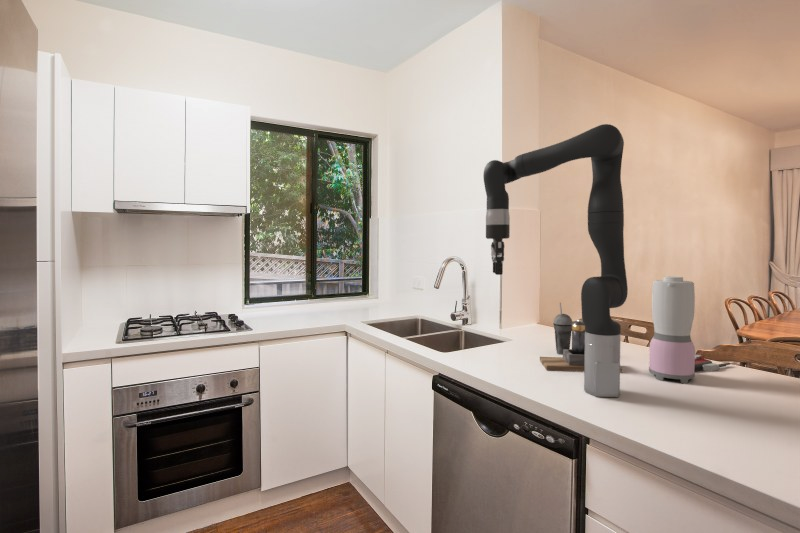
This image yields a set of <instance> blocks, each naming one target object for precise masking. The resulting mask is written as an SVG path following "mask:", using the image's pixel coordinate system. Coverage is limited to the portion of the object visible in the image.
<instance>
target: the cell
mask: <svg viewBox="0 0 800 533" xmlns="http://www.w3.org/2000/svg"><path fill="white" fill-rule="evenodd" d="M571 349H572V354H581V355H585V326H584V323H583V320H582V319H576V320H574V321H573V320H572V331H571Z"/></svg>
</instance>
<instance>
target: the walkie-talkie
mask: <svg viewBox="0 0 800 533" xmlns="http://www.w3.org/2000/svg"><path fill="white" fill-rule="evenodd" d="M730 365H731V362H725V363H719V364H718V363H714V362H713V361H712V360H710V359H706V358H705V356H704V355H701V354H696V353H695V368H694V373H695V372H696V373H697V372H700V371H702V372H713V371H714V372H716V371H719V370H720V368H723V367H727V366H730Z"/></svg>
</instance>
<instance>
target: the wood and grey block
mask: <svg viewBox="0 0 800 533" xmlns="http://www.w3.org/2000/svg"><path fill="white" fill-rule="evenodd" d="M584 356H585V355H581V354H572V348H570V349H563V355H562V357H560V356H559V357H557V356H556V357H555V356H539V362H540V363H541V364H542V366H543V367H544V368H545V370H546V371H551V372H552V371H554V372H555V371H557V372H560V371H561V372H583V371H584ZM620 374H623V368H622V367H621V366H620Z"/></svg>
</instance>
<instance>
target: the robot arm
mask: <svg viewBox="0 0 800 533" xmlns="http://www.w3.org/2000/svg"><path fill="white" fill-rule="evenodd" d="M624 141H625V140H624V138H623V135H622V133H621V132H620V130H619V129H618V127H616V126H615V125H612V124H608V123H605V124H599V125H597V126H595V127H592V128H591V129H588V130H586V131H584V132H582V133H580V134H578V135H575V136H572V137H571V138H568V139H566V140H563V141H561V142H558V143H555V144H552V145H549V146H546V147H542V148H539V149H535V150H532V151H529V152H525V153H522V154H519V155H517V156H515V158H514V159H512V160H509V161H505V162H502V161H500V160H498V159H494V160H490V161H489V162H487V163H486V164H485V167H484V169H483V183H484V184H483V185H484V190H485V193H486V213H485V214H486V215H485V239H487V240H492V242H491V245H490V250H491V253H490V255H491V262H492V273H493V274H495V275H496V276H500V275H501V276H502V275H503V272H504V271H503V264H504V261H505V242H504V241H503V239H510V235H511V234H510V230H511V229H510V226H511V225H510V220H511V219H510V209H509V208H510V201H509V200H510V198H509V196H510V195H509V193H508V191H507V190H506V184H509V183H513V182H515V181H517V180H519V179H522V178H526V177H530V176H533V175H537V174H540V173H544V172H547V171H550V170H552V169H555V168H556V167H559V166H560V165H563V164H565V163H568V162H571V161H576V160H579V159H580V160H581V159H588V158H590V160H591V168H592V169H591V170H592V171H591V172H592V181H591V182H592V183H591V188H590V193H589V196H588V197H589V198H588V204H587V231H588V232H587V233H588V235H589V237H590V239H591V241H592V244H593V245H594V247H595V249H596V251H597V254H598V256H599V261H600V268H601V269H600V276H592V277H589V278H586V280H585V281H584V282H583V284H582V286H581V291H580V300H581V306H580V307H581V320H582V321H583V323H584V326H585V356H584V372H583V377H584V378H583V379H584V380H583V381H584V382H583V389H584V391H585V392H586V393H588V394H590V395H592V396H595V397H600V398H601V397H603V398H620V394H621V388H620V386H621V373H620V367H621V335H622V332H621V327H622V326H621V324H620V323H619V322H618V321H615V320H613V319H612V318H611V309H616V308H619V307H621V306H623V305H624V304H625V303H626V301H627V298H628V279H627V270H626V262H625V240H624V237H625V236H624V228H625V227H624V226H625V218H624V216H625V214H624V213H625V209H624V195H623V189H622V181H621V178H622V177H621V175H622V173H621V172H622V161H623V153H624V146H625V142H624Z"/></svg>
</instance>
